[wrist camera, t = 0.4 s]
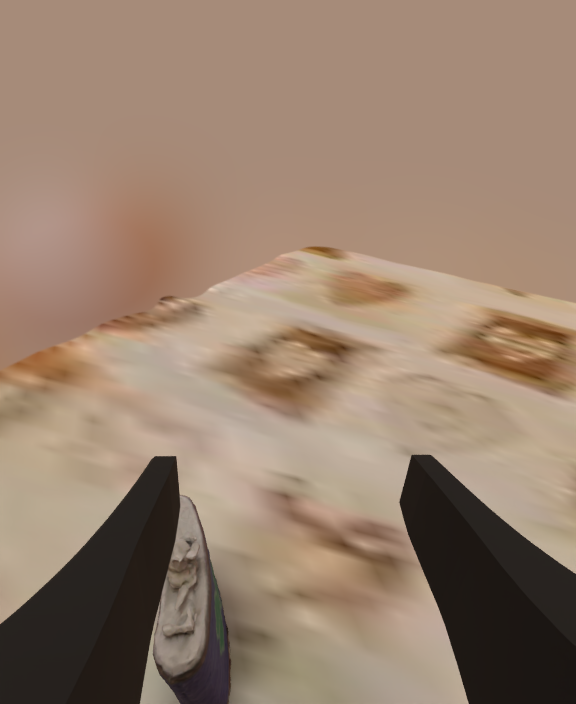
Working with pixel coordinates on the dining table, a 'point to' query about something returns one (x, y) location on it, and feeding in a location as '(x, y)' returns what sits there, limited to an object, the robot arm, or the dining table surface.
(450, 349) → the dining table surface
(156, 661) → the flask
